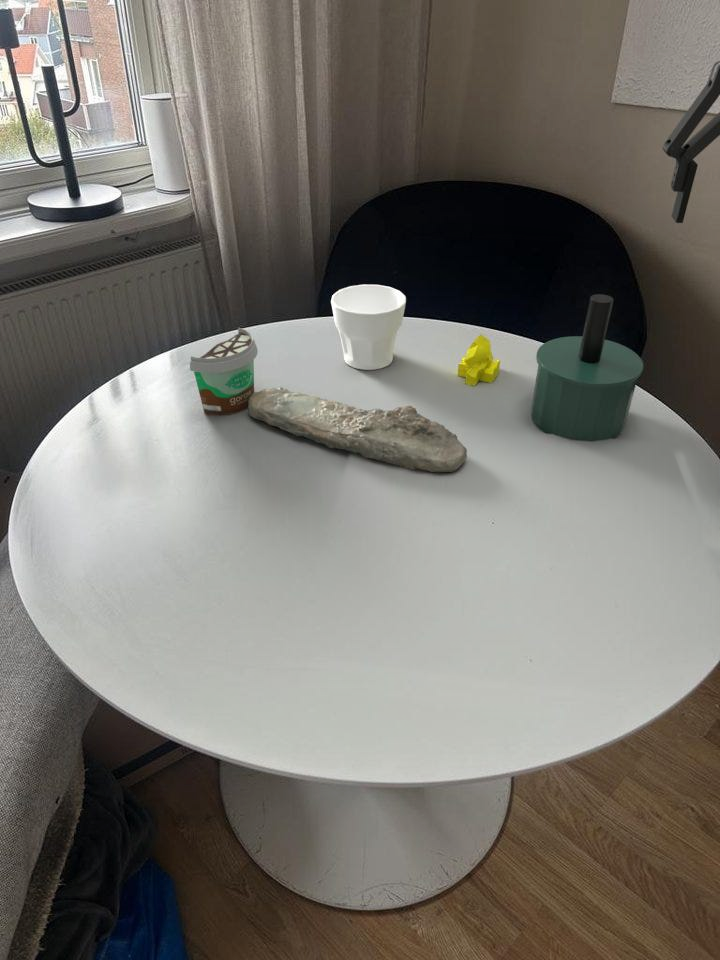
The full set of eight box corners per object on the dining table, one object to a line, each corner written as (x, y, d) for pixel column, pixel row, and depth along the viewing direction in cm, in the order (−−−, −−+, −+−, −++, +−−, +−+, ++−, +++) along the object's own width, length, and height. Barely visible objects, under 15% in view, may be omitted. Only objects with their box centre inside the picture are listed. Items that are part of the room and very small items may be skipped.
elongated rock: (273, 400, 114) (236, 433, 107) (267, 371, 111) (230, 403, 104) (478, 447, 99) (450, 488, 93) (479, 416, 96) (450, 456, 89)
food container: (229, 427, 105) (221, 367, 99) (197, 417, 108) (187, 357, 102) (277, 391, 114) (272, 334, 108) (247, 382, 116) (240, 326, 110)
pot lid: (632, 346, 106) (649, 281, 100) (649, 395, 95) (669, 324, 88) (533, 340, 108) (543, 275, 102) (537, 387, 96) (549, 317, 90)
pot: (617, 399, 111) (630, 344, 105) (630, 447, 100) (646, 389, 95) (529, 393, 113) (538, 338, 107) (532, 440, 102) (542, 382, 96)
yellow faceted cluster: (502, 367, 120) (507, 325, 115) (487, 388, 114) (492, 345, 109) (469, 360, 122) (473, 318, 117) (453, 381, 116) (456, 337, 111)
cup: (380, 337, 129) (380, 278, 123) (418, 364, 121) (421, 303, 114) (320, 353, 124) (317, 293, 118) (355, 383, 116) (354, 320, 109)
